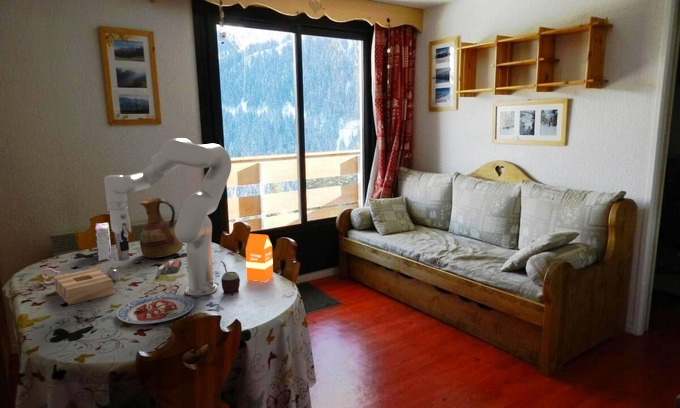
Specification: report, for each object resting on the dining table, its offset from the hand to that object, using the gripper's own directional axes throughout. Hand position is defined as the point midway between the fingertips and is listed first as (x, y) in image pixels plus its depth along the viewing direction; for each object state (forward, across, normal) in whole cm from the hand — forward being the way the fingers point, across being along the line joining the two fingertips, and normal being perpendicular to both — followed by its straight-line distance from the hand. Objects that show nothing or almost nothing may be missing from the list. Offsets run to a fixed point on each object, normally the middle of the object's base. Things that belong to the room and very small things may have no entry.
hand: (122, 249), depth 189 cm
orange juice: (+18, -30, -45) cm, 57 cm away
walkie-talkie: (+17, +8, -21) cm, 28 cm away
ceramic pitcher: (+16, +35, -29) cm, 48 cm away
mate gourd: (+18, -36, -27) cm, 49 cm away
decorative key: (+16, +26, +15) cm, 34 cm away
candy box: (+16, +53, -7) cm, 56 cm away
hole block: (+16, +6, +15) cm, 22 cm away
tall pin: (+4, 0, 0) cm, 4 cm away
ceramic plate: (+17, -34, +2) cm, 38 cm away
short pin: (+16, +12, +2) cm, 20 cm away
